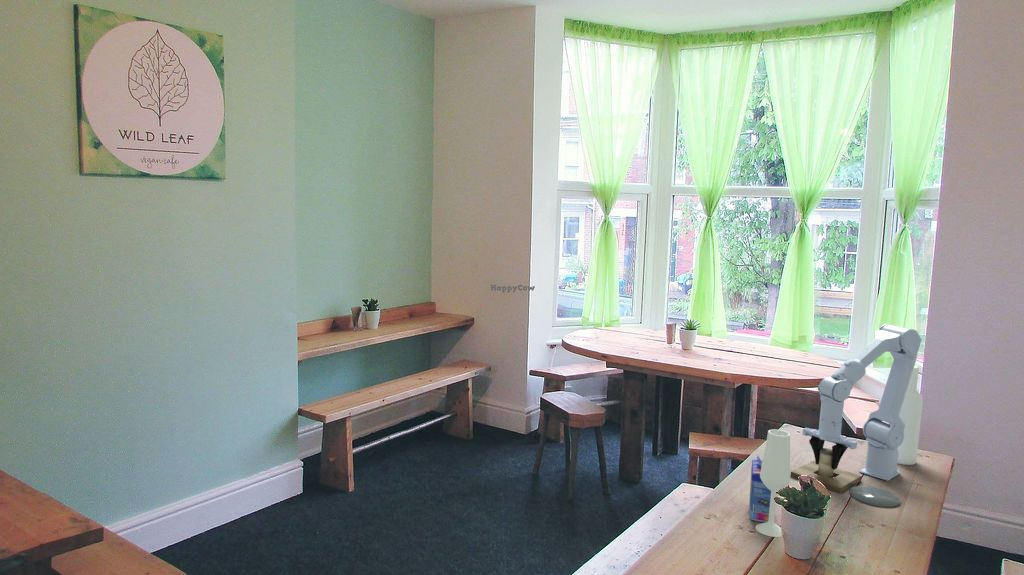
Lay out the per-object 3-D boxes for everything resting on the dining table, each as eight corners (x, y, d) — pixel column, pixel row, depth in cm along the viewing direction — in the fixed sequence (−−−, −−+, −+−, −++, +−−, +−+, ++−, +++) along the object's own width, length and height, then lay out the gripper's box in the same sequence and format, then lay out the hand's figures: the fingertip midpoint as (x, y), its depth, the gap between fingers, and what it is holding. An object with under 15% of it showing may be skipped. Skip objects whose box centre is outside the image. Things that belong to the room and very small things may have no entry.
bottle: (886, 461, 209) (897, 367, 206) (886, 453, 216) (897, 362, 213) (916, 467, 206) (927, 371, 202) (915, 459, 212) (926, 366, 209)
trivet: (860, 484, 191) (860, 482, 190) (906, 499, 182) (907, 497, 182) (842, 495, 183) (842, 493, 183) (889, 511, 174) (889, 509, 174)
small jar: (821, 470, 196) (823, 447, 195) (835, 474, 193) (838, 451, 192) (815, 473, 194) (817, 450, 193) (829, 478, 191) (831, 454, 190)
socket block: (812, 465, 204) (813, 460, 203) (861, 480, 193) (861, 475, 193) (790, 476, 194) (790, 471, 194) (839, 493, 184) (840, 487, 184)
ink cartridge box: (747, 503, 175) (752, 450, 173) (770, 507, 173) (775, 453, 172) (748, 520, 166) (752, 463, 164) (772, 524, 164) (777, 467, 162)
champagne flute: (783, 525, 164) (791, 429, 161) (787, 538, 157) (796, 439, 154) (753, 521, 165) (762, 426, 162) (757, 534, 159) (765, 435, 156)
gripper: (799, 415, 194) (795, 461, 196) (851, 429, 183) (846, 477, 185) (810, 411, 199) (806, 455, 201) (862, 424, 188) (857, 471, 190)
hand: (826, 466), depth 193 cm, fingers closed on small jar, 4 cm apart
